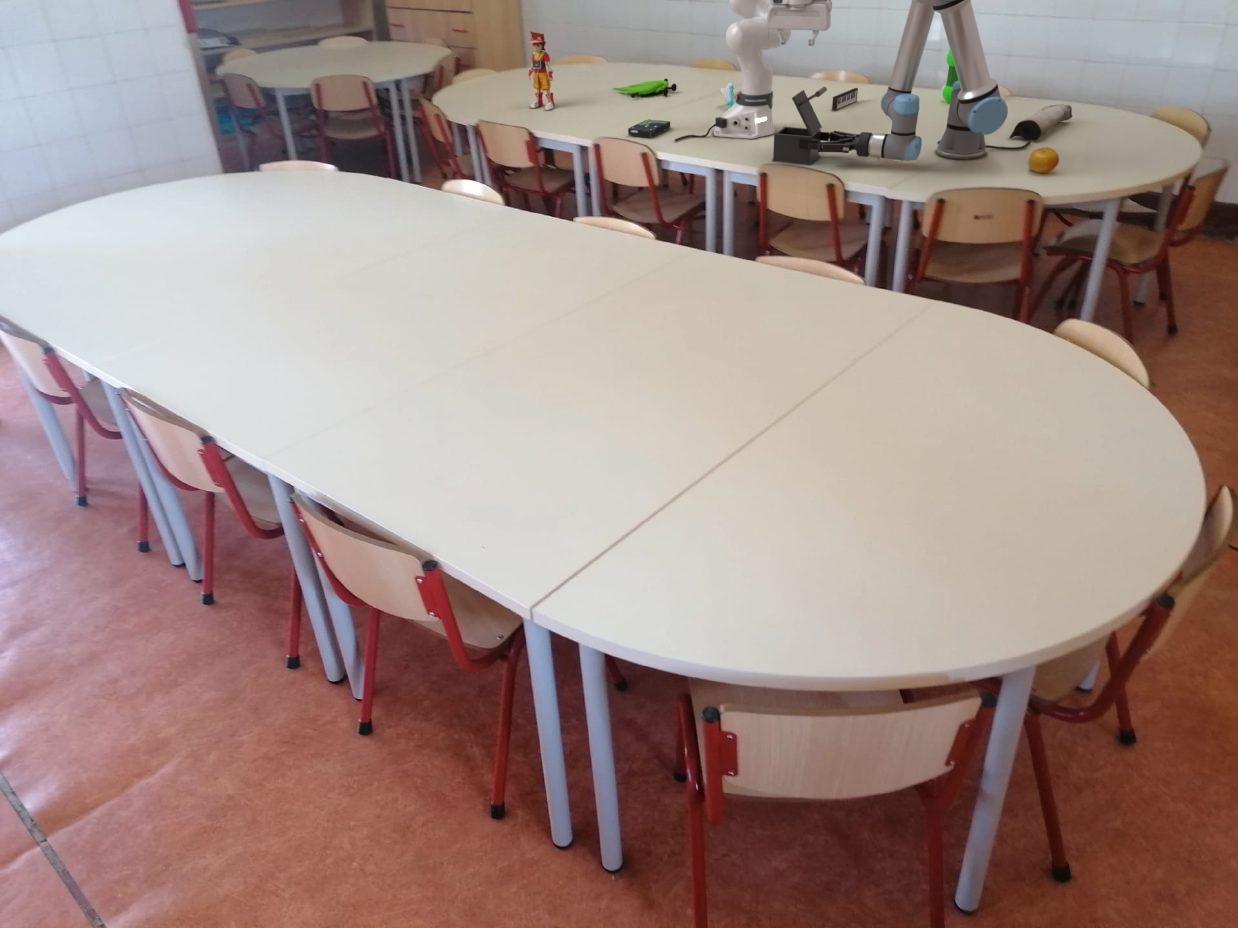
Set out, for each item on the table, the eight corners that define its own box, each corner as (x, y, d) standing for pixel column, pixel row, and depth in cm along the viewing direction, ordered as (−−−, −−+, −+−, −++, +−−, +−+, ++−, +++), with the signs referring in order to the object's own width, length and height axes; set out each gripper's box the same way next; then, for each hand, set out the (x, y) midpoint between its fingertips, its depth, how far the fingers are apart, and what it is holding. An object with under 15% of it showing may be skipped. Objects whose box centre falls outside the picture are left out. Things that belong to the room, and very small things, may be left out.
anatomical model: (716, 82, 367) (740, 75, 367) (721, 107, 373) (744, 101, 372) (722, 90, 355) (747, 83, 354) (727, 117, 361) (751, 110, 360)
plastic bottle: (973, 101, 354) (984, 32, 339) (955, 106, 349) (966, 36, 335) (952, 97, 361) (962, 29, 346) (934, 102, 356) (944, 33, 342)
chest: (772, 161, 304) (774, 134, 298) (782, 153, 310) (784, 126, 305) (809, 164, 298) (811, 137, 293) (818, 156, 305) (820, 129, 300)
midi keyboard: (834, 110, 353) (835, 97, 350) (831, 110, 354) (832, 97, 351) (857, 101, 364) (858, 88, 361) (854, 101, 364) (855, 88, 361)
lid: (791, 98, 289) (814, 84, 284) (801, 91, 296) (823, 78, 291) (810, 136, 293) (833, 124, 288) (819, 128, 300) (842, 116, 294)
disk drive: (651, 138, 334) (670, 128, 344) (651, 131, 332) (670, 120, 342) (627, 136, 339) (647, 125, 349) (627, 128, 337) (647, 118, 347)
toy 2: (686, 85, 398) (631, 84, 414) (685, 72, 395) (629, 72, 411) (651, 104, 381) (596, 103, 397) (650, 92, 378) (594, 91, 394)
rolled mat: (1039, 109, 327) (1064, 92, 319) (1053, 130, 328) (1078, 113, 320) (1005, 132, 310) (1030, 114, 302) (1020, 154, 310) (1045, 137, 302)
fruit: (1023, 163, 276) (1041, 139, 273) (1022, 165, 284) (1039, 142, 281) (1047, 178, 275) (1065, 155, 272) (1044, 180, 283) (1062, 157, 280)
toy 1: (525, 109, 381) (517, 32, 364) (534, 104, 388) (527, 28, 371) (550, 110, 377) (543, 32, 360) (559, 105, 384) (553, 28, 367)
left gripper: (835, -5, 275) (831, 44, 283) (772, -6, 284) (770, 42, 291) (829, -1, 271) (825, 48, 278) (765, -3, 279) (763, 46, 287)
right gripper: (860, 166, 284) (792, 160, 294) (879, 147, 300) (814, 142, 309) (862, 142, 280) (794, 136, 289) (881, 124, 296) (816, 119, 305)
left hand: (797, 45), depth 285 cm, fingers open, 8 cm apart
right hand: (804, 139), depth 299 cm, fingers closed on chest, 10 cm apart
